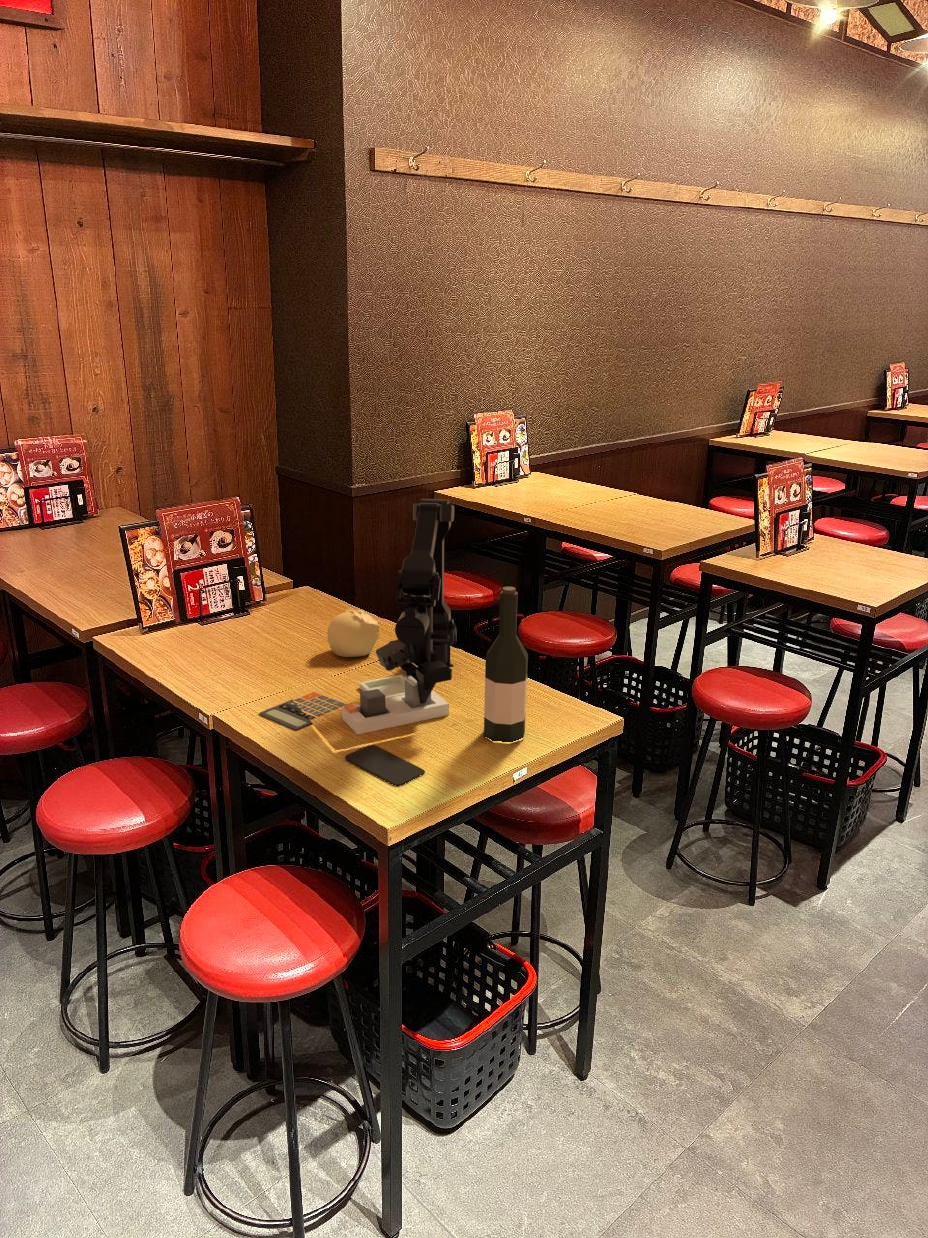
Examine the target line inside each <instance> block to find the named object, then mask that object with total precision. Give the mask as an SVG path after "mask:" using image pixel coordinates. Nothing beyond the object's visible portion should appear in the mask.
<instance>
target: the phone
mask: <svg viewBox="0 0 928 1238" xmlns="http://www.w3.org/2000/svg"><path fill="white" fill-rule="evenodd" d="M344 760H345V761H346V762H348V763H350V764H352V765H354V766H355V767H357V768H359V769H361V770H362V769H363V770H362V771H365V772H367V773H369V774H370V773H371V775H372V774H373V776H374V775H375V776H374V777H376V776H377V777H376V778H378V779H380V780H382V781H384V780H385V781H384V782H385V783H388V782H389V783H388V784H390V785H391V784H393V785H392V786H394V785H396V786H395V787H401V786H400V785H402V786H404V785H406V784H408V782H409V781H411V780H413V779H415V778H417V777H419V776H420V775H423V774H424V773H425V774H426V770H425V769H424V768H421V767H419V766H418V765H416V764H413V763H412V762H409V761H408V760H406V759H404V758H402V757H399V756H398V755H396V754H394V753H392V752H390V751H388V750H387V749H384V748H382V747H380V746H378V745H377V744H376V745H375V744H370V745H369V744H368V745H366V746H364V747H360V748H359V749H357V750H354V751H352V752H350V753H347V754H346V755H345V757H344ZM425 774H424V775H425ZM424 775H423V776H424ZM419 778H420V777H419ZM417 779H418V778H417ZM415 780H416V779H415ZM413 781H414V780H413ZM411 782H412V781H411ZM405 783H406V784H405ZM409 783H410V782H409ZM403 784H404V785H403Z"/></svg>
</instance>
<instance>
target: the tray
mask: <svg viewBox="0 0 928 1238" xmlns="http://www.w3.org/2000/svg"><path fill="white" fill-rule="evenodd" d="M358 683H359V685H358V686H359V687H358V688H359V689H360V690H362V691H361V692H364V691H369V690H374V689H378V690H380V691H381V692H382V693H383V694H384V695H385V699H386V698H391V697H396V696H401V695H405V675H403V674H397V675H392V676H387V677H386V676H385V677H381V678H377V679H376V678H375V679H371V680H365V681H361V682H358Z"/></svg>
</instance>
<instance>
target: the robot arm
mask: <svg viewBox="0 0 928 1238" xmlns="http://www.w3.org/2000/svg"><path fill="white" fill-rule="evenodd" d="M419 500H420V501H419V503H412V504H413V505H412V506H413V507H412V521H416V523H415V531H414V535H413V536H414V537H413V541H412V548H411V552H410V554H409V555H408V556H406V557H405V558H404V559H403V561H402V565H401V570H398V573H397V577H396V578H397V581H396V588H395V589H396V590H395V600H394V605H395V606H402V611H401V614H400V616H399V618H398V620H397V622H396V624H395V626H394V632H395V633H394V634H395V636H396V639H394V640H389V642H388V643H386V644H384V645H383V646H381V647H379V648H377V649H376V650H375V655H376V656H377V658H378V661H379V664H380V666H381V667H383V668H384V669H385V670H386V671H388V672H389V671H394V670H395V669H397V668H400V669H401V670H403V673H404V677H405V676H409V675H411V676H412V677H413V678H414V679H415V680H416V681H417V686H418V693H419V699H420V703H421V704H423V703H426V701H427V699H428V697H429V695H430V693H431V692H432V690H433V689H434V688H435V686H436V685H437V683H441V682H442V683H443V682H447V681H451V680H452V679H453V669H452V668H453V667H454V666H455V665H454V664H453V663H451V646H452V645H453V644H455V643H457V642H458V641H457V625H456V624H455V622H454V619H453V618H452V615H451V614H452V612H451V608H450V606H449V605H448V603H447V602H446V600H445V596H444V595H445V537H446V536H447V534H448V533H449V531H450V528H451V526H452V522H454V521H455V520H454V519H455V505H454V504H452V503H450V500H449V499H443V498H442V499H441V498H440V499H439V498H437V499H436V498H420V499H419ZM401 594H403V595H401ZM404 595H405V596H404ZM407 595H408V596H407ZM433 691H434V690H433Z"/></svg>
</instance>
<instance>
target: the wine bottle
mask: <svg viewBox="0 0 928 1238" xmlns="http://www.w3.org/2000/svg"><path fill="white" fill-rule="evenodd" d="M518 593H519V592H518V591H516V587H515V586H503V587H502V590H501V591H500V592H499V620H498V635H497V636H496V638H495V640H494V642H493V643H492V644H491V646H490V648H489V649H488V650H487V652H486V656H485V668H484V669H485V671H484V673H485V674H484V710H483V711H484V713H483V717H484V718H483V737H484V738H485V737H487V738H489V739H491V740H492V741H502V742H513V741H516V740H519V739H521V738H523V737H525V734H524V733H526V714H527V711H526V709H527V686H528V685H527V683H528V663H529V661H528V660H529V653H528V652H527V650H526V648H525V647H524V645H523V643H522V642H521V640H520V638H519V637H518V635H517V626H518V621H517V620H518V600H519V599H518V596H519V594H518ZM487 738H486V739H487ZM523 739H524V738H523ZM492 741H491V742H492Z"/></svg>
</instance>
